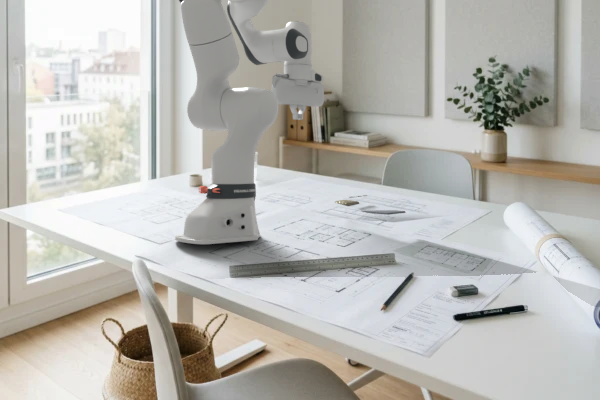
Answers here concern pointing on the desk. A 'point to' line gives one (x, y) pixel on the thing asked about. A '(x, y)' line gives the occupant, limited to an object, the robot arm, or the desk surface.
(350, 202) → the cuneiform tablet
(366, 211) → the felt pad
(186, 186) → the desk surface
